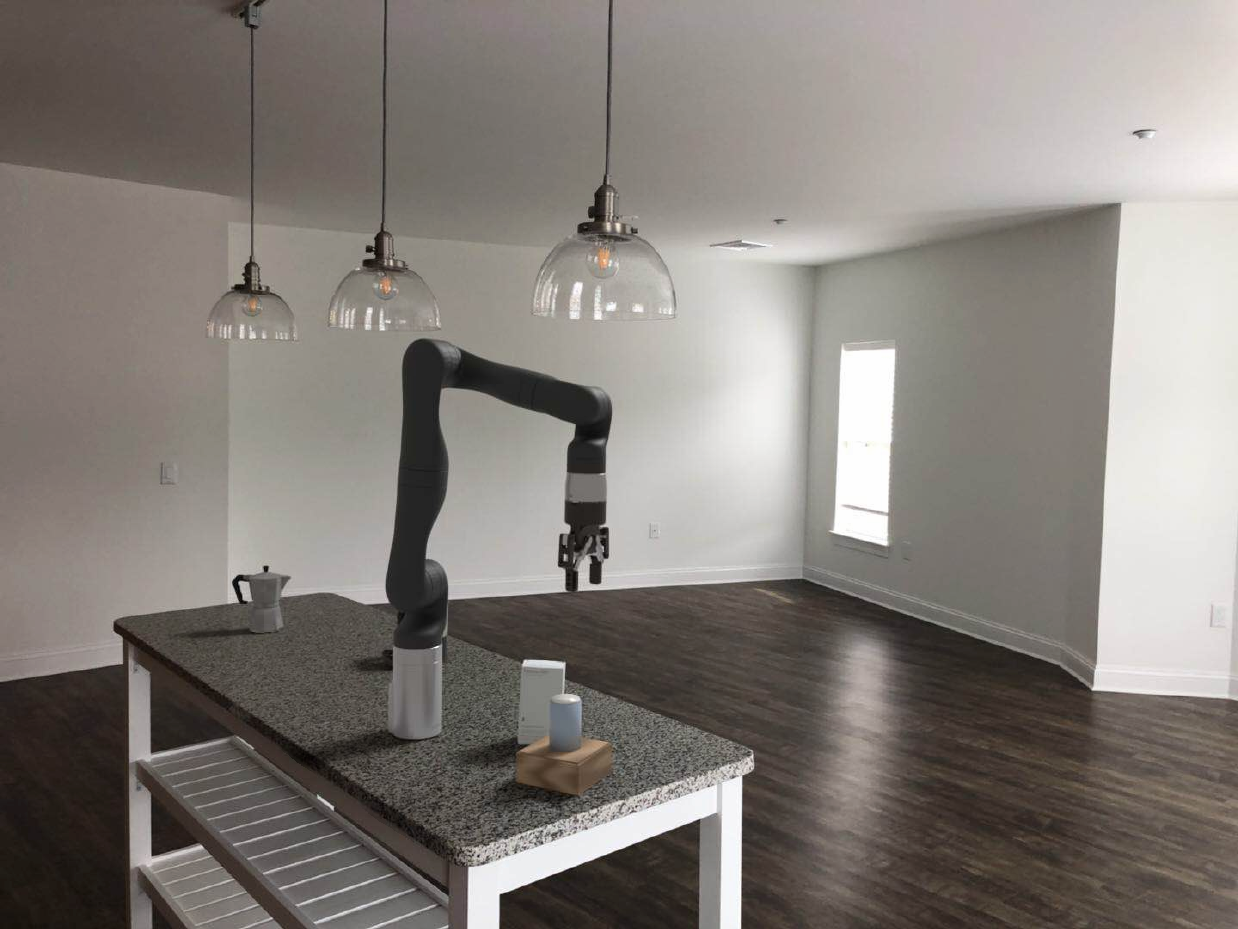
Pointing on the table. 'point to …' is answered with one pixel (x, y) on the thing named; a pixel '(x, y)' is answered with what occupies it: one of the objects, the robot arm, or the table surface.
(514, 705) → the table surface
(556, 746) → the canister
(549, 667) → the skincare box
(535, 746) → the cardboard box
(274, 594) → the coffeepot
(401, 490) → the robot arm
